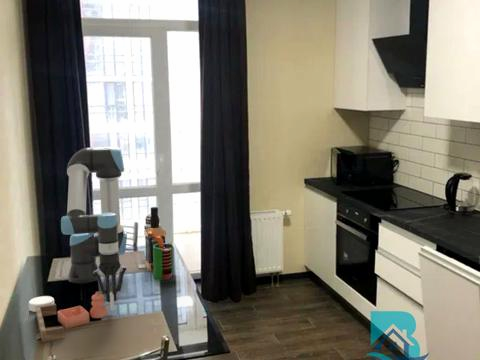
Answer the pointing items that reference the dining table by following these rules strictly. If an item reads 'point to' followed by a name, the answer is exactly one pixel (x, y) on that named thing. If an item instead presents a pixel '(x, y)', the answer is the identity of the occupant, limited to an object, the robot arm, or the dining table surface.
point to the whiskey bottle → (152, 237)
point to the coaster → (40, 302)
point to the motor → (162, 260)
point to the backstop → (45, 333)
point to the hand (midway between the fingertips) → (111, 308)
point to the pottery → (83, 312)
